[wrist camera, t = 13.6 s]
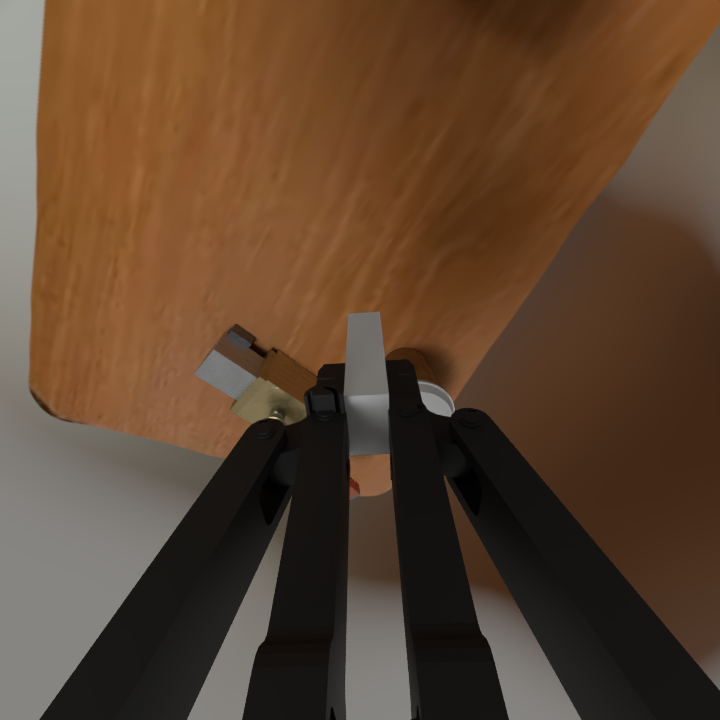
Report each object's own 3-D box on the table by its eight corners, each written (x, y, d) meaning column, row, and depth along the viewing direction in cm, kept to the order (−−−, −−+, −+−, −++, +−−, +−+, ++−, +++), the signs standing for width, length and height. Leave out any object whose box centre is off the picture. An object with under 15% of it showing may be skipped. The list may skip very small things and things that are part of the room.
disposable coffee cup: (393, 404, 57) (402, 463, 47) (357, 360, 53) (357, 414, 43) (449, 373, 54) (471, 429, 44) (415, 324, 50) (431, 373, 40)
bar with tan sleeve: (207, 353, 52) (179, 394, 44) (234, 318, 50) (210, 355, 41) (330, 433, 60) (326, 481, 52) (359, 407, 57) (360, 453, 49)
